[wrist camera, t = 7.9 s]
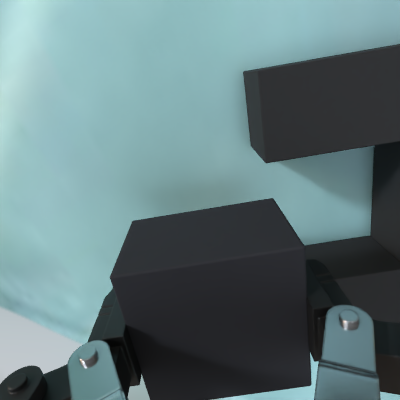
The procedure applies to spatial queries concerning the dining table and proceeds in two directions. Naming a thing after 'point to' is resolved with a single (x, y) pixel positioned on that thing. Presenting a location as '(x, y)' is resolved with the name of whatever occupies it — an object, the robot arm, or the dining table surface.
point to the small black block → (216, 302)
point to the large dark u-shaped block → (338, 141)
